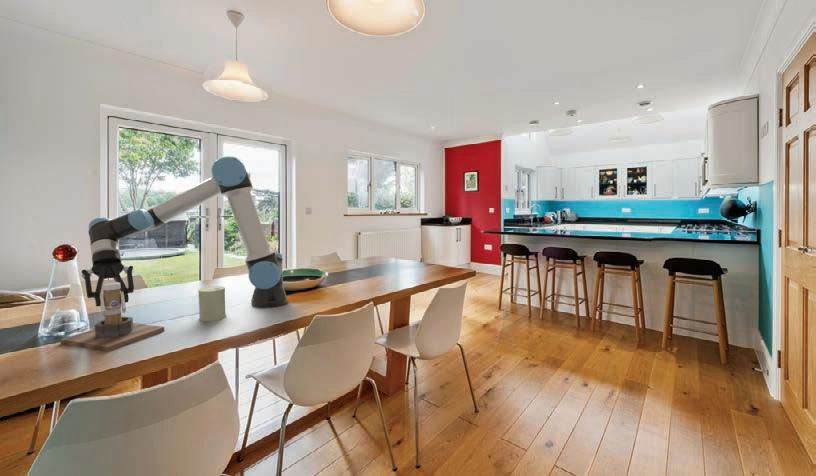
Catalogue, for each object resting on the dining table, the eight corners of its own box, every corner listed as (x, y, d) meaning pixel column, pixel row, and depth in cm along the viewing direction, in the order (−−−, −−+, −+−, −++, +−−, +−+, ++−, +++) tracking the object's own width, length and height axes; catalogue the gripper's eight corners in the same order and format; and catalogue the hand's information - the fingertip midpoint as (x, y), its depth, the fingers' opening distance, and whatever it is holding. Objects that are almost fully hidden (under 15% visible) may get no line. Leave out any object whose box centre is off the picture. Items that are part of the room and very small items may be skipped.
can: (214, 322, 130) (213, 291, 129) (193, 320, 132) (192, 289, 131) (231, 314, 139) (230, 285, 138) (211, 313, 141) (210, 284, 140)
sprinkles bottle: (109, 326, 110) (107, 285, 109) (101, 324, 112) (98, 283, 111) (125, 322, 115) (123, 282, 113) (117, 320, 116) (115, 281, 115)
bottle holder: (164, 331, 120) (163, 315, 119) (107, 351, 103) (106, 333, 102) (121, 325, 125) (120, 310, 124) (60, 344, 108) (59, 326, 107)
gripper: (136, 259, 129) (146, 312, 118) (71, 264, 116) (76, 324, 106) (138, 247, 124) (148, 300, 114) (71, 250, 112) (76, 311, 102)
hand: (113, 311), depth 110 cm, fingers closed on sprinkles bottle, 4 cm apart
